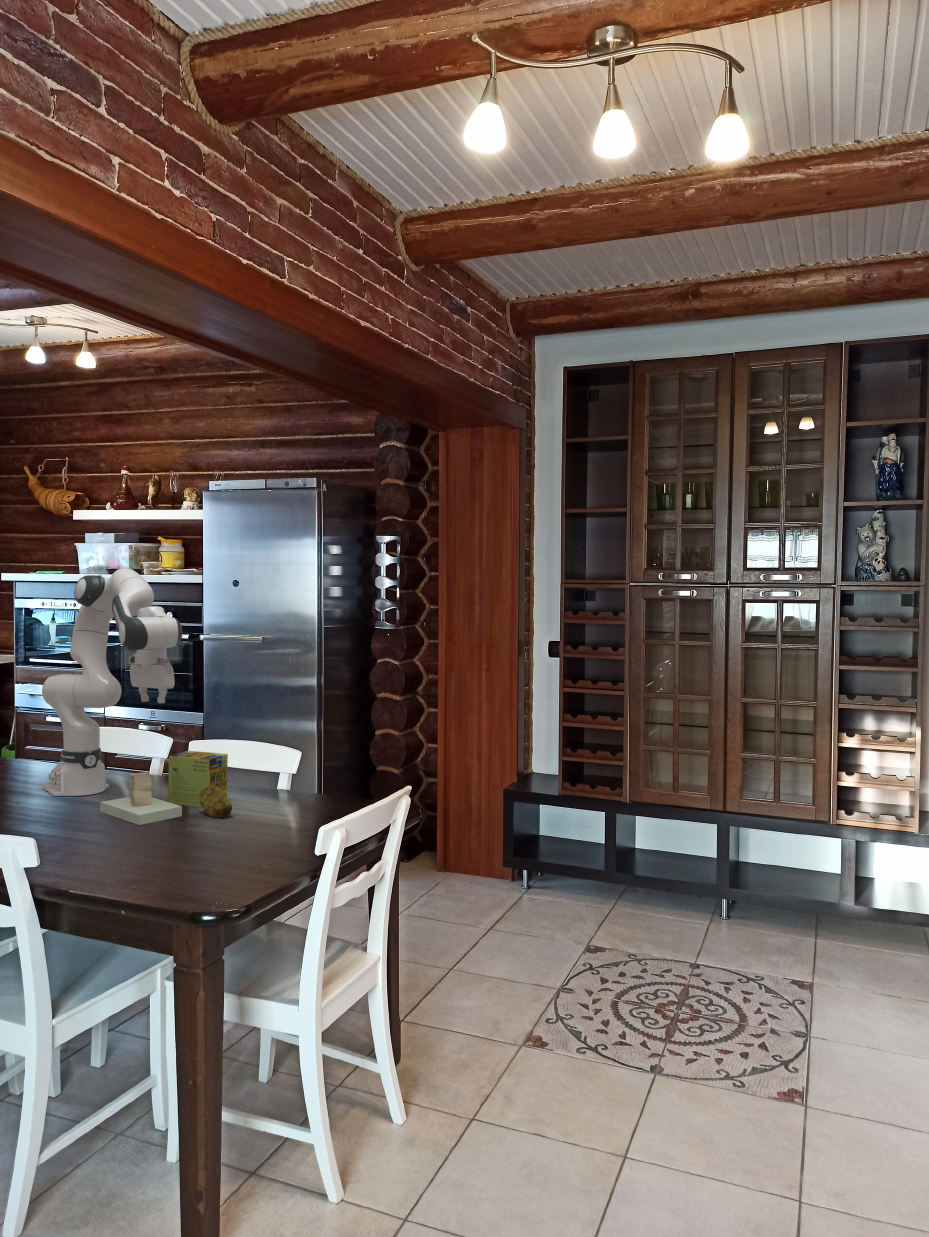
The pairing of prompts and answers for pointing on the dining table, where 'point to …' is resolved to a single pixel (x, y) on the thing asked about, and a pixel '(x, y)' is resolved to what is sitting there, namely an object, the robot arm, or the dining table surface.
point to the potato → (215, 802)
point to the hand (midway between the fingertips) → (153, 702)
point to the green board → (141, 810)
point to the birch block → (140, 789)
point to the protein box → (195, 776)
